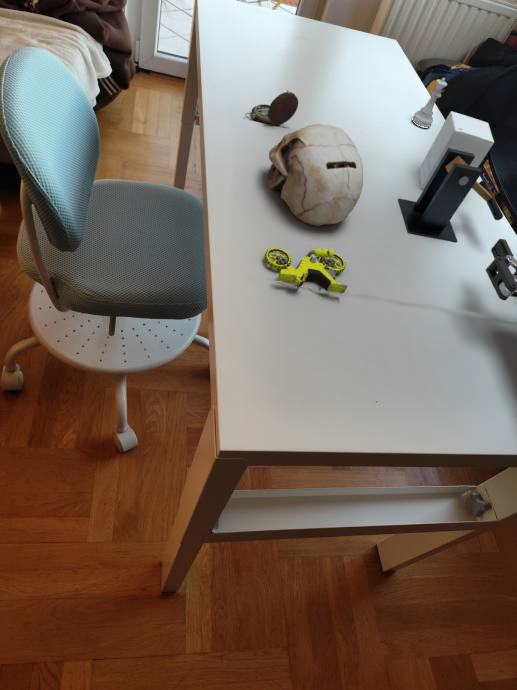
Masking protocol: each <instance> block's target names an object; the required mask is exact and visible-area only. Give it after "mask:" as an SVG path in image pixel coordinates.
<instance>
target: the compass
mask: <svg viewBox="0 0 517 690" xmlns="http://www.w3.org/2000/svg"><path fill="white" fill-rule="evenodd" d="M298 108H299V99H298V96H296V94H295V93H293V92H291V91H289V90H288V89H286V92H283V93H280V94H279V95H277V96H276V97H275V98H274V99H273V100H272V101H271V103H270V104H265V103H262V104H258V105H255V106H253V108H252V109H251V112H246V113H244V116H245V117H246V118H247V119H249V120H250V119H254V121H256V122H257V123H259V124H264V125H269V126H273V127H276V126H279V125H283V124H285V123H287V122H289V121H290V120H291V119H292V117H294V115H295V114H296V112H297V110H298ZM248 115H250V116H251V117H249V116H248Z"/></svg>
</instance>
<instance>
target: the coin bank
mask: <svg viewBox="0 0 517 690" xmlns="http://www.w3.org/2000/svg"><path fill="white" fill-rule="evenodd" d="M268 159H269V161H270V162H271V163H272V164H271V165H270V168H269V170H268V171H267V181H266V184H267V185H268V188H269V189H271V190H274V191H279V192H280V193H281V194H280V198H281V200H283V201H284V202H285V203H286V204H287V207H288V208H289V210H290V212H291V214H292V215H293V216H294V217H295V218H296V219H298V220H299V221H301V222H302V223H305V224H308V225H311V226H315V227H320V226H324V225H326V226H327V225H328V226H329V225H335V224H338V223H340V222H343V221H344V220H345V219H347V218H348V217H349V215H350V214H351V213H352V211H353V210H354V208H355V206H356V205H357V203H358V201H360V197H361V194H362V191H363V185H364V165H363V161H362V157H361V155H360V154H359V151H358V149H357V147H356V144H355V142H354V141H353V140H352V139H351V136H349V135H348V134H347V132H346V131H345V130H344V129H343V128H342V127H341V128H340V127H338V126H335V125H330V124H324V123H323V124H321V123H319V124H308V125H305V126H304V127H301V128H299V129H298V130H294V131H293V132H289V133H286V134H285V135H284V136H283V137H282V138H281V140H280V141H279V142H278V144H276V145H274V146H273V147H271V149H270V150H269V152H268Z"/></svg>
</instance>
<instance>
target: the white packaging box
mask: <svg viewBox="0 0 517 690" xmlns="http://www.w3.org/2000/svg"><path fill="white" fill-rule="evenodd" d="M494 140H495V139H494V138H493V134H492V130H491V128H490V124H489V122H487V121H484V120H481V119H477V118H476V117H475V118H474V117H472V116H469V115H465V114H462V113H458V112H456V111H452V110H451V111H450V112H449V113H448V116H447V117H446V119H445V121H443V124H442V126H441V128H440V129H439V132H438V133H437V135H436V137H435V139H434V141H433V142H432V144H431V146H430V148H429V150H427V153H426V155H425V156H424V159H423V161H422V163H421V164H420V166H419V168H418V179H419V188H420V190H422V191H423V190H424V188H425V187H426V185H427V183H428V181H429V180H430V178H431V176H432V175H433V173H434V171H435V170H436V168H437V166H438V165H439V163H440V161H441V159H442V158H443V156H444V154H445V153H446V151H447V149H448V148H451V149H455V150H460V151H464V152H468V153H473V154H474V156H475V158H474V159H473V161H472V162H471V164H470V166H472V167H477V168H479V167H480V165H481V164H482V162H483V161H484V159H485V157H486V156H487V154H488V153H489V151H490V150H491V148H492V146H493V145H494V144H495V141H494Z"/></svg>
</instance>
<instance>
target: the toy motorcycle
mask: <svg viewBox="0 0 517 690" xmlns="http://www.w3.org/2000/svg"><path fill="white" fill-rule="evenodd" d="M272 254H275V256H274V255H272ZM313 255H314V256H315V257H314V256H313ZM263 257H264V258H263V260H264V263H266V265H268V267H269V268H271V269H274V270H278V271H279V274H278V277H277V282H283V283H288V284H291V285H294V286H295V287H296V289H295V293H297V292H298V289H300V288H301V287H302V286H303V285H304V283H305V282H315V283H316V284H318V285H319V286H320V287H322V288H323V289H324V290H325V291H329V292H333V293H338V294H344V293H345V292H346V290H347V288H348V286H349V285H348V284H344V283H341V282H339V281H336V278H337V276H336V275H339V274H342V273H344V271H345V269H346V266H347V264H346V261H345V259H344V258H343V256H341V255H340V254H338V253H335V251H334V249H329V248H328V249H327V248H320V247H319V248H315V249H311V250H309V252H308V253H307V254H306V255H305V256H304V257H303V258H302V259H301V260H300V261H299V263H298V265H297V266H296V268H295V267H293V266H292V265H291V264H292V257H291V255H290V253H289V252H287V250H284V248H281V247H272V248H271V247H269V249H267V250H266V251H265V252H264V256H263ZM271 258H272V259H274V261H272V260H271ZM327 258H328V259H327ZM337 264H340V266H339V265H337ZM334 267H335V268H334Z"/></svg>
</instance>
